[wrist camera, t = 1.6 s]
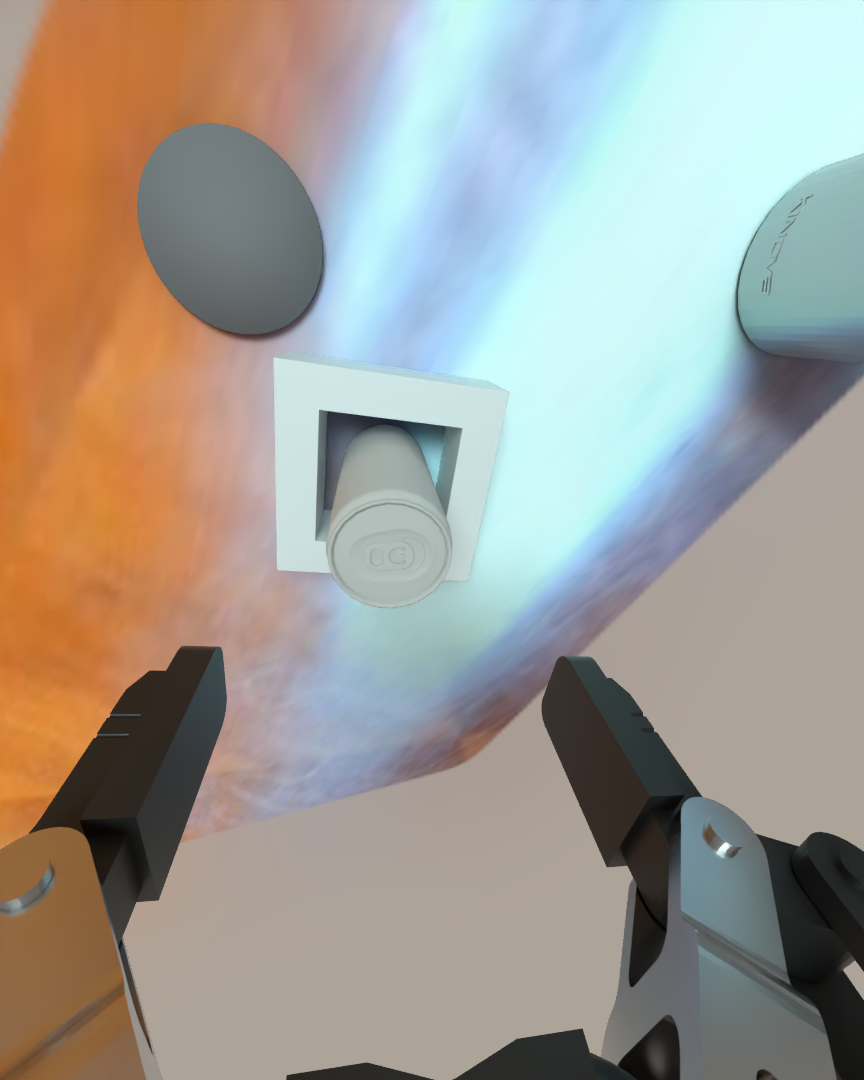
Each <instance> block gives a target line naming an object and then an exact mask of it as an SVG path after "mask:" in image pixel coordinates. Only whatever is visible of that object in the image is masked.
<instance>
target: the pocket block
mask: <svg viewBox="0 0 864 1080" xmlns="http://www.w3.org/2000/svg"><path fill="white" fill-rule="evenodd" d="M509 393H510V392H508V391H506V390H504V389H503V388H501V387H499V386H497V385H495V384H493V383H491V382H489V381H486V380H479V379H472V378H466V377H459V376H452V375H446V374H439V373H433V372H426V371H419V370H413V369H406V368H399V367H393V366H386V365H379V364H373V363H366V362H359V361H353V360H346V359H339V358H333V357H326V356H320V355H313V354H306V353H300V352H293V351H291V352H288V353H285V354H282V355H279V356H277V357H274V403H275V463H276V522H277V570H286V571H303V572H319V573H331V571H330V568H329V565H328V558H327V555H326V535H327V531H328V526H329V522H330V517H331V513H332V509H324V491H325V464H326V438H327V411H332V412H340V413H348V414H356V415H364V416H371V417H379V418H387V419H395V420H403V421H411V422H418V423H426V424H434V425H442V426H446V430H445V436H444V442H443V448H442V454H441V461H440V467H439V473H438V479H437V485H436V492H437V494H438V497H439V500H440V502H441V505H442V508H443V511H444V513H445V516H446V519H447V521H448V524H449V527H450V531H451V538H452V556H451V562H450V567H449V570H448V572H447V574H446V576H445V578H444V580H450V581H466V582H468V578H469V574H470V569H471V565H472V560H473V556H474V551H475V547H476V542H477V538H478V533H479V529H480V524H481V520H482V515H483V511H484V506H485V501H486V497H487V492H488V488H489V483H490V479H491V474H492V470H493V465H494V461H495V456H496V452H497V447H498V443H499V438H500V434H501V429H502V425H503V420H504V416H505V411H506V407H507V402H508V398H509Z"/></svg>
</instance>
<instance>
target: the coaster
mask: <svg viewBox="0 0 864 1080" xmlns="http://www.w3.org/2000/svg"><path fill="white" fill-rule="evenodd" d="M137 207H138V221H139V226H140V231H141V236H142V239H143V243H144V246H145V249H146V252H147V254H148V256H149V259H150V261H151V263H152V265H153V267H154V269H155V271H156V272H157V274H158V276H159V277H160V279H161V280H162V282H163V283H164V285H165V286H166V288H167V289H168V290H169V291H170V292H171V294H172V295H173V296H174V297H175V298H176V299H177V300H178V301H179V302H180V303H181V304H182V305H183V306H184V307H185V308H186V309H188V310H189V311H190V312H191V313H193V314H194V315H195V316H197V317H198V318H200V319H201V320H203V321H205V322H206V323H208V324H210V325H213V326H215V327H217V328H220V329H222V330H225V331H229V332H233V333H238V334H248V335H250V334H263V333H268V332H273V331H275V330H278V329H281V328H283V327H285V326H287V325H288V324H290V323H291V322H293V321H294V320H295V319H297V318H298V317H299V316H300V315H301V314H302V313H303V312H304V311H305V309H306V308H307V306H308V305H309V304H310V302H311V300H312V298H313V296H314V294H315V292H316V290H317V287H318V284H319V281H320V276H321V271H322V262H323V245H322V237H321V231H320V227H319V223H318V219H317V216H316V213H315V210H314V208H313V205H312V203H311V201H310V199H309V197H308V195H307V192H306V191H305V189H304V187H303V185H302V184H301V182H300V180H299V179H298V177H297V176H296V174H295V173H294V172H293V170H292V169H291V168H290V167H289V165H288V164H287V163H286V162H285V161H284V160H283V159H282V158H281V157H280V156H279V155H278V154H277V153H276V152H275V151H274V150H273V149H272V148H270V147H269V146H268V145H267V144H265V143H264V142H262V141H261V140H259V139H258V138H256V137H255V136H253V135H251V134H249V133H247V132H245V131H242V130H240V129H237V128H234V127H231V126H227V125H221V124H197V125H192V126H188V127H185V128H183V129H180V130H178V131H176V132H174V133H173V134H171V135H170V136H168V137H167V138H166V139H165V140H163V141H162V142H161V143H160V144H159V145H158V146H157V148H156V149H155V150H154V152H153V153H152V154H151V156H150V158H149V160H148V162H147V163H146V165H145V168H144V171H143V174H142V177H141V180H140V185H139V191H138V206H137Z"/></svg>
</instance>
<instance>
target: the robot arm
mask: <svg viewBox="0 0 864 1080" xmlns="http://www.w3.org/2000/svg"><path fill="white" fill-rule="evenodd" d="M738 311H739V315H740V319H741V323H742V327H743V329H744V330H745V332H746V334H747V336H748V338H749V339H750V340H751V341H752V342H753V343H754V344H755V345H756V346H757V347H758V348H759V349H761V350H763V351H765V352H767V353H769V354H774V355H780V356H788V357H800V358H812V359H824V360H836V361H844V362H856V363H864V153H863V154H860V155H857V156H854V157H851V158H849V159H846V160H843V161H840V162H837V163H834V164H831V165H828V166H825V167H823V168H821V169H820V170H818V171H816V172H814V173H812V174H811V175H809V176H807V177H805V178H804V179H803V180H802V181H801V182H799V183H798V184H797V185H796V186H794V187H793V188H792V189H791V190H790V191H788V192H787V193H786V194H785V196H784V197H783V198H782V199H781V200H780V201H779V202H778V203H777V205H776V206H775V207H774V208H773V209H772V210H771V212H770V213H769V215H768V216H767V218H766V219H765V221H764V222H763V224H762V225H761V227H760V228H759V230H758V231H757V233H756V236H755V238H754V240H753V242H752V244H751V246H750V248H749V250H748V252H747V256H746V259H745V262H744V265H743V268H742V271H741V276H740V282H739V289H738ZM226 702H227V695H226V684H225V673H224V662H223V652H222V649H221V647H207V646H182V647H181V648H180V649H179V650H178V651H177V653H176V655H175V656H174V658H173V660H172V662H171V663H170V665H169V667H168V668H167V670H166V671H149V672H148V673H146V674H145V675H144V676H143V677H141V678H140V679H139V680H138V681H136V682H135V683H134V684H133V685H131V686H130V687H129V688H128V689H126V690H125V692H124V693H123V695H122V696H121V698H120V699H119V701H118V702H117V704H116V705H115V707H114V709H113V710H112V712H111V713H110V717H109V718H107V719H106V721H105V722H104V724H103V725H102V727H101V728H100V730H99V731H98V733H97V737H96V738H94V739H93V740H92V742H91V743H90V745H89V746H88V748H87V749H86V751H85V752H84V754H83V755H82V757H81V758H80V760H79V761H78V763H77V764H76V766H75V767H74V769H73V770H72V772H71V773H70V775H69V776H68V778H67V779H66V781H65V782H64V784H63V785H62V787H61V788H60V790H59V791H58V793H57V795H56V796H55V798H54V799H53V801H52V802H51V804H50V805H49V807H48V808H47V810H46V811H45V813H44V814H43V816H42V817H41V819H40V820H39V821H38V823H37V824H36V825H35V827H34V828H33V829H32V830H31V831H30V832H29V834H28V835H25V836H23V837H21V838H19V839H17V840H15V841H13V842H12V843H10V844H8V845H6V846H5V847H3V848H2V849H0V1080H163V1079H162V1076H161V1073H160V1069H159V1066H158V1063H157V1060H156V1056H155V1052H154V1049H153V1045H152V1042H151V1038H150V1034H149V1030H148V1027H147V1023H146V1020H145V1016H144V1012H143V1009H142V1005H141V1001H140V998H139V994H138V990H137V987H136V983H135V979H134V976H133V972H132V968H131V965H130V961H129V957H128V954H127V950H126V946H125V943H124V939H123V934H124V932H125V929H126V927H127V924H128V922H129V919H130V917H131V914H132V912H133V909H134V906H135V904H136V902H143V901H156V900H159V898H160V895H161V892H162V889H163V887H164V884H165V881H166V878H167V875H168V873H169V870H170V867H171V865H172V862H173V859H174V856H175V853H176V851H177V848H178V845H179V843H180V840H181V837H182V834H183V832H184V829H185V826H186V823H187V821H188V818H189V815H190V813H191V810H192V807H193V804H194V802H195V799H196V796H197V793H198V791H199V788H200V785H201V782H202V780H203V777H204V774H205V771H206V769H207V766H208V763H209V760H210V758H211V755H212V752H213V749H214V747H215V744H216V741H217V738H218V736H219V733H220V730H221V727H222V724H223V721H224V717H225V711H226ZM542 717H543V721H544V724H545V727H546V729H547V731H548V733H549V736H550V738H551V741H552V743H553V745H554V747H555V750H556V752H557V754H558V757H559V759H560V761H561V763H562V766H563V768H564V770H565V772H566V775H567V777H568V779H569V782H570V784H571V786H572V788H573V791H574V793H575V795H576V798H577V800H578V802H579V805H580V807H581V809H582V811H583V814H584V816H585V818H586V821H587V823H588V825H589V827H590V830H591V832H592V834H593V837H594V839H595V841H596V843H597V846H598V848H599V850H600V852H601V855H602V857H603V859H604V861H605V864H606V866H607V867H616V866H628V868H629V870H630V872H631V874H632V876H633V879H632V881H631V883H630V885H629V891H628V902H627V910H626V920H625V929H624V939H623V948H622V958H621V967H620V978H619V986H618V992H617V997H616V1001H615V1004H614V1007H613V1010H612V1012H611V1014H610V1017H609V1020H608V1024H607V1027H606V1032H605V1036H604V1041H603V1047H602V1054H601V1057H599V1056H597V1055H595V1054H592V1053H590V1052H589V1049H588V1045H587V1042H586V1039H585V1035H584V1032H583V1029H577V1030H571V1031H565V1032H558V1033H552V1034H546V1035H539V1036H533V1037H526V1038H520V1039H516V1040H515V1041H513V1042H511V1043H510V1044H508V1045H507V1046H505V1047H504V1048H502V1049H501V1050H499V1051H498V1052H496V1053H494V1054H493V1055H491V1056H490V1057H488V1058H487V1059H485V1060H484V1061H482V1062H480V1063H479V1064H477V1065H476V1066H474V1067H473V1068H471V1069H470V1070H468V1071H466V1072H465V1073H463V1074H462V1075H460V1076H459V1077H457V1078H455V1079H453V1080H864V1000H863V999H862V997H861V996H860V994H859V993H858V991H857V990H856V989H855V987H854V986H853V984H852V983H851V981H850V980H849V978H848V977H847V975H846V974H845V973H844V971H843V969H844V968H845V967H847V966H848V965H850V964H851V963H852V962H854V961H855V960H856V962H857V963H858V964H859V966H860V967H861V969H862V970H863V971H864V852H863V851H862V850H861V849H859V848H857V847H856V846H855V845H853V844H851V843H850V842H848V841H846V840H844V839H842V838H840V837H838V836H835V835H832V834H829V833H823V832H815V833H813V834H811V835H810V836H809V837H808V838H807V839H806V840H805V841H804V842H803V843H802V844H801V845H800V846H795V845H792V844H788V843H785V842H781V841H778V840H775V839H772V838H768V837H765V836H761V835H758V834H755V833H754V831H753V830H752V829H751V828H750V827H749V826H748V825H747V824H746V822H745V821H744V820H742V819H741V818H740V817H739V816H738V815H737V814H735V813H734V812H733V811H732V810H730V809H729V808H727V807H725V806H724V805H722V804H720V803H718V802H716V801H714V800H711V799H708V798H703V797H702V796H701V794H700V793H699V792H698V790H697V789H696V787H695V786H694V785H693V783H692V782H691V780H690V779H689V778H688V776H687V775H686V773H685V772H684V770H683V769H682V767H681V766H680V765H679V763H678V762H677V760H676V759H675V758H674V756H673V755H672V753H671V752H670V750H669V749H668V748H667V746H666V745H665V743H664V742H663V740H662V739H661V738H660V736H659V735H658V733H656V732H654V728H653V726H652V725H651V723H650V722H649V721H648V719H647V718H646V717H644V716H643V712H642V711H641V709H640V708H639V706H638V705H637V704H636V702H635V701H634V699H633V698H632V697H631V695H630V694H629V693H628V692H627V691H626V690H624V689H623V688H622V687H621V686H620V685H619V684H618V683H616V682H615V681H614V680H613V679H612V678H606V676H605V675H604V673H603V672H602V670H601V669H600V667H599V666H598V665H597V663H596V662H595V660H593V659H592V658H591V657H576V656H561V657H559V658H558V660H557V662H556V664H555V667H554V669H553V672H552V675H551V678H550V680H549V683H548V686H547V688H546V691H545V694H544V697H543V700H542ZM286 1080H433V1079H429V1078H425V1077H421V1076H417V1075H414V1074H410V1073H406V1072H402V1071H398V1070H394V1069H390V1068H386V1067H382V1066H378V1065H375V1064H371V1063H361V1064H355V1065H348V1066H342V1067H336V1068H330V1069H323V1070H317V1071H311V1072H304V1073H298V1074H291V1075H287V1078H286Z"/></svg>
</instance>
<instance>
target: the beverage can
mask: <svg viewBox="0 0 864 1080" xmlns="http://www.w3.org/2000/svg"><path fill="white" fill-rule="evenodd" d="M326 555H327V558H328V565H329V568H330V571H331V574H332V576H333V578H334V579H335V581H336V582H337V584H338V585H339V587H340V588H341V589H342V590H343V591H344V592H346V593H347V594H348V595H349V596H350V597H352V598H354V599H356V600H358V601H360V602H362V603H364V604H367V605H371V606H375V607H379V608H396V607H401V606H406V605H410V604H413V603H415V602H417V601H420V600H422V599H424V598H425V597H426V596H428V595H429V594H430V593H432V592H433V591H435V589H436V588H437V587H438V586H439V585H440V583H441V582H442V581H443V580H444V578H445V576H446V574H447V572H448V570H449V567H450V562H451V556H452V538H451V531H450V527H449V524H448V521H447V519H446V516H445V513H444V511H443V508H442V505H441V502H440V500H439V497H438V494H437V492H436V489H435V486H434V483H433V481H432V478H431V475H430V473H429V470H428V467H427V464H426V462H425V459H424V456H423V454H422V451H421V449H420V447H419V445H418V443H417V442H416V440H415V439H414V438H413V437H412V436H411V435H410V434H409V433H407V432H406V431H405V430H403V429H401V428H399V427H396V426H393V425H382V424H381V425H377V426H373V427H370V428H368V429H366V430H364V431H362V432H361V433H359V434H358V435H357V436H356V437H354V438H353V439H352V441H351V442H350V443H349V445H348V446H347V449H346V452H345V455H344V459H343V463H342V468H341V472H340V477H339V481H338V486H337V490H336V495H335V499H334V504H333V508H332V513H331V517H330V522H329V526H328V531H327V535H326Z"/></svg>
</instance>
